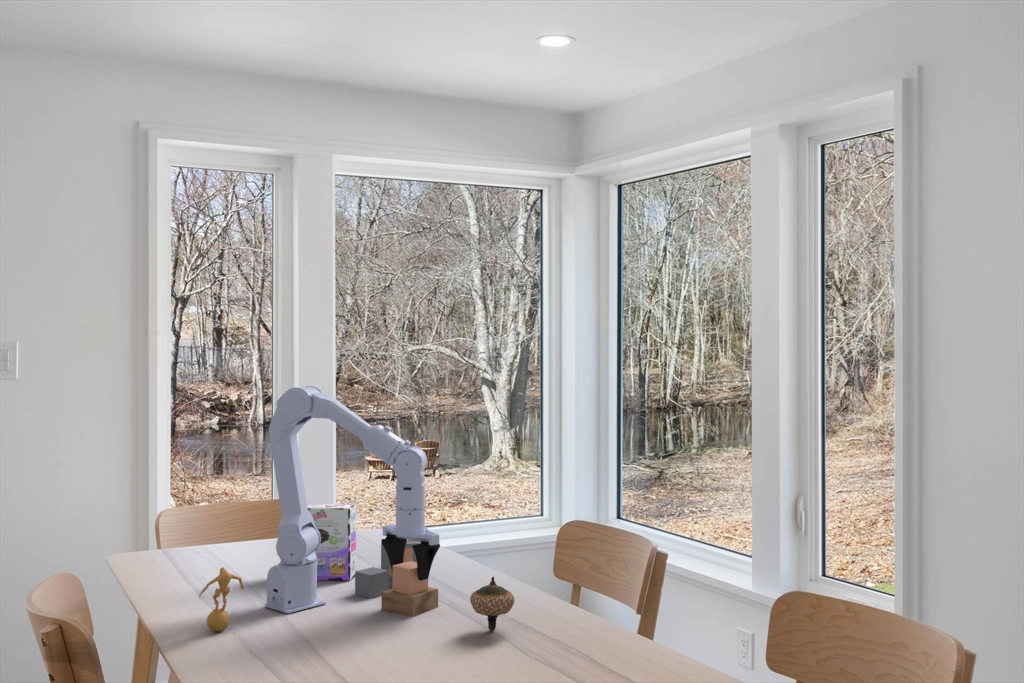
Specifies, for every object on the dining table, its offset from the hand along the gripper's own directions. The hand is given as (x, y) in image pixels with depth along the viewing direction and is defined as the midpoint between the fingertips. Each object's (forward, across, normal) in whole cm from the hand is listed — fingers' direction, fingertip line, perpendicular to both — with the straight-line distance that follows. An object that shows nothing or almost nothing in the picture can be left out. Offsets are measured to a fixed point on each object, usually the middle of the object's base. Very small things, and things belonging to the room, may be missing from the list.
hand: (410, 576), depth 178 cm
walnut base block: (+7, 0, 0) cm, 7 cm away
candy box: (+7, +33, -4) cm, 34 cm away
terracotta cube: (+3, 0, 0) cm, 3 cm away
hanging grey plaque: (+6, +15, -12) cm, 20 cm away
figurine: (+7, +15, +33) cm, 37 cm away
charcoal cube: (+7, +14, -2) cm, 16 cm away
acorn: (+7, -22, 0) cm, 23 cm away
